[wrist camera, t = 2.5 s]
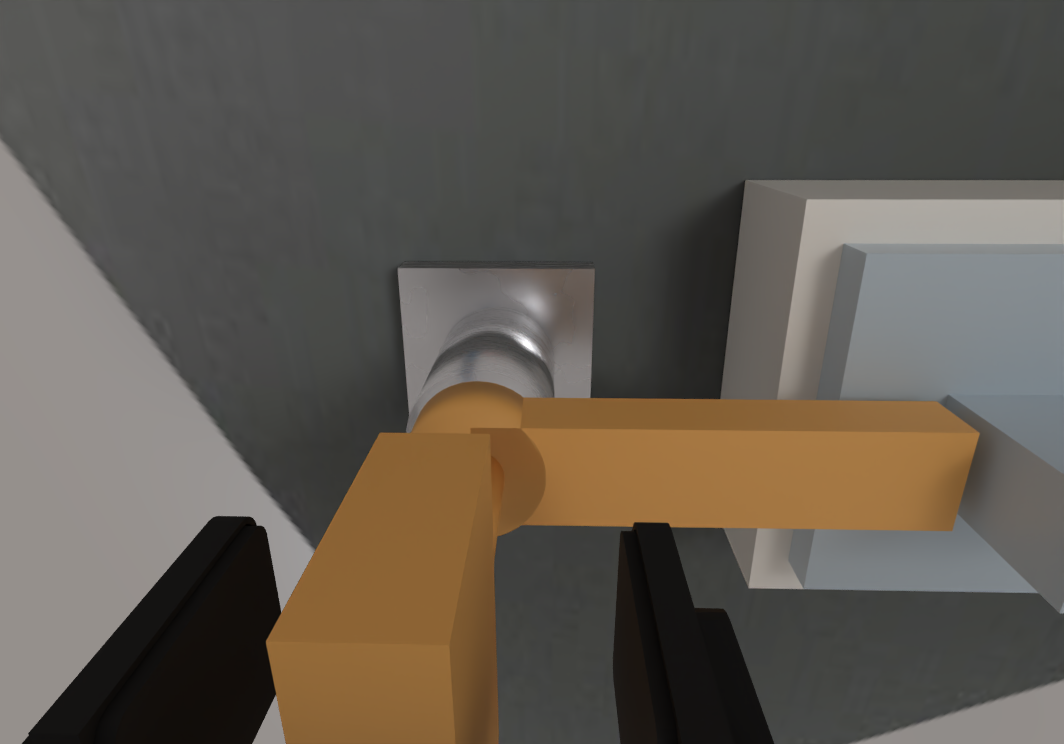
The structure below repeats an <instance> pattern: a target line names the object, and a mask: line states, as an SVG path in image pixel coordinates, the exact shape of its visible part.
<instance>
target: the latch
mask: <svg viewBox="0 0 1064 744" xmlns="http://www.w3.org/2000/svg"><path fill="white" fill-rule="evenodd" d="M979 435H980V433H979V432H978V431H976V430H975V429H974V428H972V427H971V426H970V425H968V424H967V423H965V422H964V421H963V420H961V419H960V418H959V417H957V416H956V415H955V414H953V413H952V412H950V411H949V410H948V409H946V408H945V407H944V406H942V405H941V404H940V403H938V402H937V401H855V400H746V399H637V398H528V397H522V396H521V395H520V394H518V393H516V392H515V391H513V390H511V389H509V388H507V387H505V386H502V385H499V384H496V383H491V382H483V381H471V382H464V383H459V384H456V385H452V386H450V387H448V388H446V389H443V390H442V391H440V392H439V393H437V394H436V395H435V396H433V397H432V398H431V399H430V400H429V401H428V402H427V403H426V404H425V406H424V407H423V409H422V410H421V412H420V414H419V416H418V418H417V420H416V422H415V424H414V427H413V429H412V431H411V433H379V435H378V437H377V439H376V441H375V442H374V444H373V446H372V448H371V450H370V452H369V453H368V455H367V457H366V459H365V461H364V463H363V464H362V466H361V468H360V470H359V472H358V474H357V475H356V477H355V479H354V481H353V483H352V485H351V486H350V488H349V490H348V492H347V494H346V496H345V497H344V499H343V501H342V503H341V505H340V507H339V508H338V510H337V512H336V514H335V516H334V518H333V519H332V521H331V523H330V525H329V527H328V529H327V530H326V532H325V534H324V536H323V538H322V540H321V541H320V543H319V545H318V547H317V549H316V551H315V552H314V554H313V556H312V558H311V560H310V562H309V563H308V565H307V567H306V569H305V571H304V573H303V574H302V576H301V578H300V580H299V582H298V584H297V585H296V587H295V589H294V591H293V593H292V594H291V597H290V598H289V600H288V602H287V604H286V606H285V607H284V609H283V611H282V613H281V615H280V616H279V618H278V620H277V622H276V624H275V626H274V627H273V629H272V631H271V633H270V635H269V637H268V638H267V640H266V645H267V650H268V656H269V661H270V666H271V671H272V676H273V681H274V686H275V691H276V696H277V701H278V706H279V711H280V716H281V721H282V726H283V731H284V736H285V741H286V744H498V739H499V723H498V689H497V654H496V620H495V586H494V558H495V551H496V543H497V536H501V535H503V534H506V533H508V532H511V531H512V530H514V529H516V528H518V527H519V526H521V525H558V526H627V527H633V524H634V522H659V523H669V525H670V527H696V528H766V529H835V530H904V531H952V530H953V527H954V523H955V519H956V516H957V512H958V509H959V505H960V502H961V498H962V495H963V491H964V488H965V484H966V481H967V477H968V473H969V470H970V466H971V463H972V459H973V456H974V452H975V449H976V445H977V442H978V438H979Z"/></svg>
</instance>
